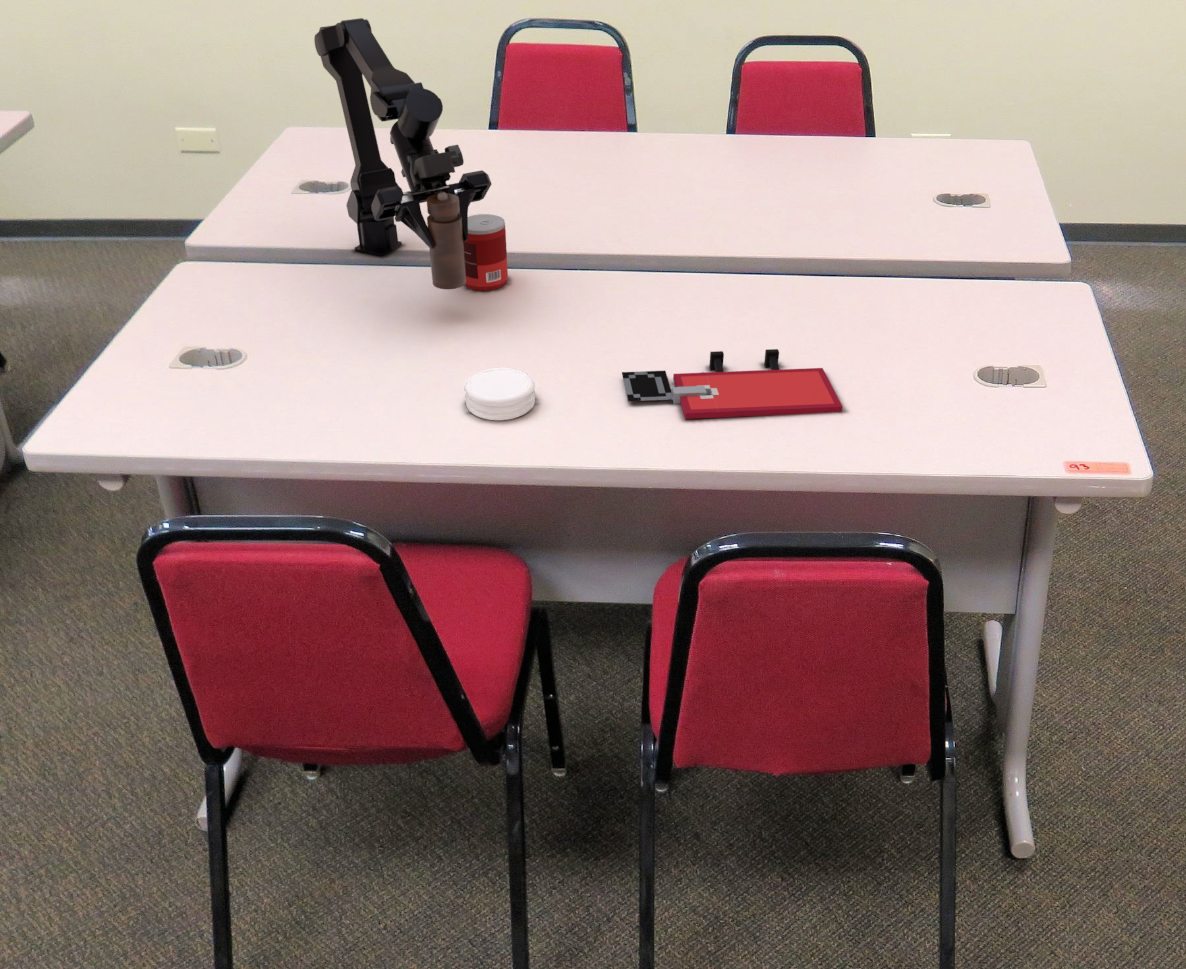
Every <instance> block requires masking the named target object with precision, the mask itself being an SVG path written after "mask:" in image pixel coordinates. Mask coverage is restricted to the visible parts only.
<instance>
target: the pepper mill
mask: <svg viewBox="0 0 1186 969" xmlns="http://www.w3.org/2000/svg"><path fill="white" fill-rule="evenodd" d="M426 212H427V214H428V215H427V216H426V225H427V227H428V229H429V232H430V234H431V236H432V239H433V243H434V248H433V249H430V248H429V258H430V259H429V260H430V270H431V282H432V285H433V287H435V288H437V289H439V290H440V289H441V290H454V289H455V290H456V289H458V288H461V287H464V286H466V285H465V283H466V272H465V258H464V244H463V230H462V217H461V215H460V214H458V213H459V212H460V206H459V197H458V196H456V195H454V194H448V193H445V192H440V193H439V194H435V195H432V196H429V197H428V198H427V202H426Z"/></svg>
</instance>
